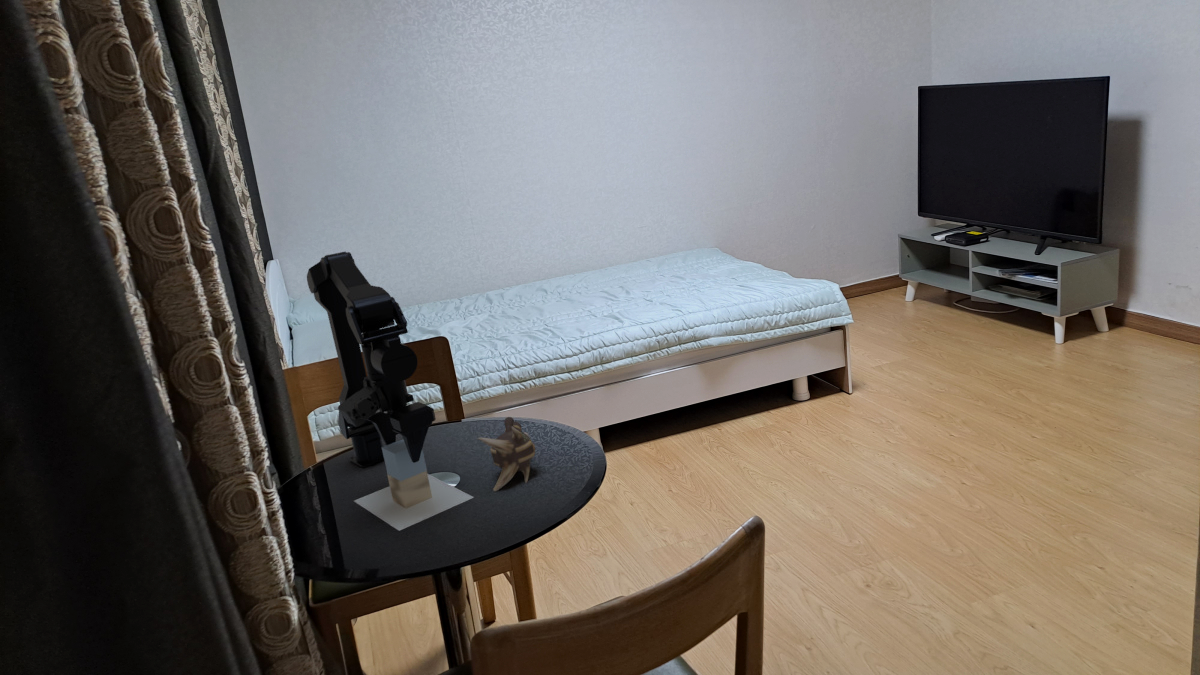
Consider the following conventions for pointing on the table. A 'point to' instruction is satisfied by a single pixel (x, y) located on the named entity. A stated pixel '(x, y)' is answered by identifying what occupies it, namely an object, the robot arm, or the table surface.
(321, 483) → the table surface
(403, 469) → the blue block
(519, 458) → the toy
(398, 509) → the board
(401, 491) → the maple block
